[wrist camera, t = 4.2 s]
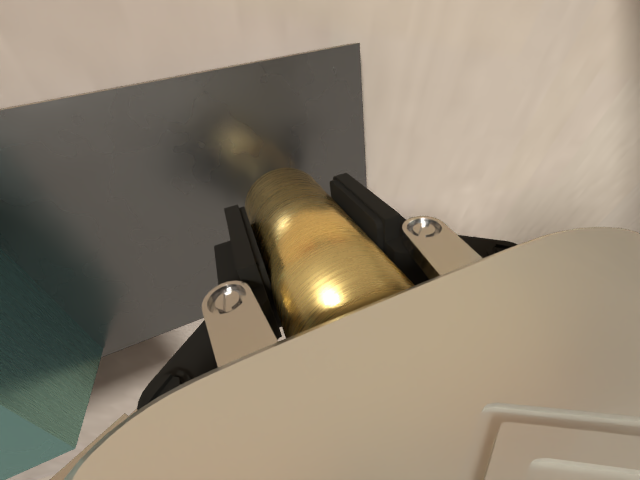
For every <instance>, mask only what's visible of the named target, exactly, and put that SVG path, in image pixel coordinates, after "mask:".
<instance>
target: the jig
mask: <svg viewBox="0 0 640 480" xmlns="http://www.w3.org/2000/svg"><path fill="white" fill-rule="evenodd" d="M279 168H294V169H298V170H301V171H303V172H305V173H307V174H308V175H310V176H311V177H312V178H313V179H314V180H315V181H316V182H317V183H318V184H319V185H320V186H321V187H322V188H323V189H324V191H325V192H326V193H327V194H328V195H329V196H330V197H331V191H330V181H332V180H333V177H334V176H337V175H340V174H344V173H348V174H349V175H350V176H352V177H353V178H354V179H355V180H357V181H358V182H359V183H361V184H362V185H363V186H364V187H366V188H367V186H366V165H365V145H364V124H363V104H362V83H361V63H360V43H354V44H346V45H341V46H336V47H330V48H325V49H319V50H314V51H309V52H303V53H298V54H293V55H287V56H282V57H277V58H271V59H266V60H260V61H255V62H250V63H244V64H239V65H234V66H228V67H223V68H218V69H212V70H207V71H201V72H196V73H191V74H185V75H180V76H175V77H169V78H164V79H159V80H153V81H148V82H142V83H137V84H132V85H126V86H121V87H116V88H110V89H105V90H100V91H94V92H89V93H83V94H78V95H73V96H67V97H62V98H57V99H51V100H46V101H41V102H35V103H30V104H24V105H19V106H14V107H8V108H3V109H0V480H6V479H8V478H10V477H12V476H15V475H17V474H19V473H21V472H24V471H26V470H28V469H30V468H33V467H35V466H37V465H39V464H41V463H44V462H46V461H48V460H50V459H53V458H55V457H57V456H59V455H62V454H64V453H66V452H68V451H71V450H73V449H75V448H76V444H77V441H78V437H79V434H80V430H81V427H82V423H83V420H84V416H85V412H86V409H87V405H88V402H89V398H90V395H91V391H92V388H93V384H94V380H95V377H96V373H97V370H98V366H99V363H100V359H101V357H103V356H106V355H108V354H111V353H114V352H116V351H119V350H121V349H124V348H127V347H129V346H132V345H134V344H137V343H140V342H142V341H145V340H147V339H150V338H152V337H155V336H158V335H160V334H163V333H165V332H168V331H171V330H173V329H176V328H178V327H181V326H184V325H186V324H189V323H191V322H194V321H196V320H199V319H202V318H204V316H203V312H202V302H203V300H204V298H205V296H206V295H207V294H208V293H209V292H210V291H211V290H212V289H213V288H215V287H216V286H218V278H217V269H216V261H215V252H214V246H215V245H218V244H221V243H224V242H227V241H230V236H229V231H228V226H227V221H226V216H225V211H224V208H227V207H230V206H234V205H237V204H238V206H239V208H240V207H243V206H244V207H245V201H246V197H247V194H248V192H249V190H250V188H251V187H252V185H253V184H254V183H255V182H256V180H258V179H259V178H260V177H261V176H263V175H264V174H266V173H268V172H270V171H272V170H275V169H279Z"/></svg>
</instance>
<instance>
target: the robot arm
mask: <svg viewBox="0 0 640 480" xmlns="http://www.w3.org/2000/svg"><path fill="white" fill-rule="evenodd" d="M330 191H331V198H332V199H333V200H334V201H335V202H336V203H337V204H338V205H339V206H340V207H341V208H342V209H343V210H344V212H345V213H346V214H347V215H348V216H349V217H350V218H351V219H352V220H353V221H354V222H355V223H356V224H357V225H358V226H359V227H360V228H361V229H362V230H363V231H364V232H365V234H366V235H367V236H368V237H369V238H370V239H371V240H372V241H373V242H374V243H375V244H376V245H377V246H378V247H379V248H380V249H381V250H382V251H383V252H384V253H385V254H386V256H387V257H388V258H389V259H390V260H391V261H392V262H393V263H394V264H395V265H396V266H397V267H398V268H399V269H400V270H401V271H402V272H403V273H404V274H405V275H406V277H407V278H408V279H409V280H410V281H411V282H412V283H413V284H414V285H415V286H413V287H410V288H408V289H405V290H403V291H400V292H398V293H395V294H393V295H390V296H388V297H386V298H383V299H381V300H378V301H376V302H373V303H371V304H368V305H366V306H364V307H361V308H359V309H356V310H354V311H351V312H349V313H346V314H344V315H342V316H339V317H337V318H334V319H332V320H329V321H327V322H325V323H322V324H320V325H317V326H315V327H313V328H310V329H308V330H305V331H303V332H300V333H298V334H296V335H293V336H291V337H288V338H286V339H284V340H281V341H279V342H278V341H277V340H278V339H279V337H282V335H281V332H280V329H279V327H282V324H281V321H280V318H279V315H278V312H277V309H276V306H275V303H274V300H273V296H272V286H271V283H270V280H269V278H268V275H267V272H266V269H265V266H264V263H263V260H262V257H261V254H260V251H259V248H258V245H257V242H256V239H255V236H254V233H253V230H252V228H251V225H250V222H249V219H248V216H247V213H246V210H245V207H244V206H243V207H240V208H239V206H238V204H237V205H234V206H230V207H227V208H224V211H225V216H226V221H227V226H228V231H229V236H230V241H227V242H224V243H221V244H218V245H215V246H214V252H215V261H216V269H217V278H218V286H216V287H215V288H213V289H212V290H211V291H210V292H209V293H208V294H207V295H206V296H205V298H204V300H203V302H202V312H203V316H204V319H205V320H204V321H203V322H202V324H201V325H200V326H199V327H198V328H197V329H196V330H195V332H194V333H193V334H192V335H191V336H190V337H189V338H188V340H187V341H186V342H185V343H184V344H183V345H182V346H181V348H180V349H179V350H178V351H177V352H176V353H175V354H174V356H173V357H172V358H171V359H170V360H169V361H168V362H167V364H166V365H165V366H164V367H163V368H162V369H161V370H160V372H159V373H158V374H157V375H156V376H155V377H154V378H153V380H152V381H151V382H150V383H149V384H148V386H147V387H146V388H145V390H144V391H143V393H142V395H141V397H140V399H139V402H138V407H137V409H136V410H135V411H134V412H133V413H132V414H130V415H129V416H128V415H127V414H123V415H122V416H121V417H120V418H119V419H118V420H117V421H115V422H114V423H113V424H112V425H111V426H110V427H109V428H108V429H106V430H105V431H104V432H103V433H102V434H101V435H100V436H99V437H97V438H96V439H95V440H94V441H93V442H92V443H91V444H89V445H88V446H87V447H86V448H85V449H84V450H83V451H82V452H80V453H79V454H78V455H77V456H76V457H75V458H74V459H73V460H71V461H70V462H69V463H68V464H67V465H66V466H65V467H63V468H62V469H61V470H60V471H59V472H58V473H57V474H56V475H54V476H53V477H52V478H51V479H50V480H640V233H638V232H634V231H631V230H627V229H622V228H612V227H592V228H578V229H572V230H566V231H561V232H556V233H552V234H549V235H545V236H542V237H539V238H536V239H533V240H530V241H527V242H525V243H522V244H519V245H518V244H515V243H512V242H508V241H501V240H493V239H485V238H477V237H469V236H461V235H457V234H456V233H455V232H453V231H452V230H451V229H450V228H449V227H448V226H447V225H446V224H445V223H443V222H442V221H441V220H439V219H436V218H434V217H429V216H417V217H412V218H409V219H408V220H406V219H405V218H403V217H402V216H401V215H400V214H399V213H398V212H396V211H395V210H394V209H393V208H391V207H390V206H389V205H387V204H386V203H385V202H384V201H382V200H381V199H380V198H378V197H377V196H376V195H375V194H373V193H372V192H371V191H370V190H368V189H367V188H366V187H364V186H363V185H362V184H361V183H359V182H358V181H357V180H355V179H354V178H353V177H352V176H350V175H349V174H348V173H344V174H340V175H337V176H334V177H333V180H332V181H330Z"/></svg>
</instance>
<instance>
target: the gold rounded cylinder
mask: <svg viewBox="0 0 640 480" xmlns="http://www.w3.org/2000/svg"><path fill="white" fill-rule="evenodd" d="M245 210H246V213H247V216H248V219H249V222H250V225H251V228H252V230H253V233H254V236H255V239H256V242H257V245H258V248H259V251H260V254H261V257H262V260H263V263H264V266H265V269H266V272H267V275H268V278H269V280H270V283H271V286H272V296H273V300H274V303H275V306H276V309H277V312H278V315H279V318H280V321H281V324H282V327H283V330H284V334H285V337H286V338H288V337H291V336H293V335H296V334H298V333H300V332H303V331H305V330H308V329H310V328H313V327H315V326H317V325H320V324H322V323H325V322H327V321H329V320H332V319H334V318H337V317H339V316H342V315H344V314H346V313H349V312H351V311H354V310H356V309H359V308H361V307H364V306H366V305H368V304H371V303H373V302H376V301H378V300H381V299H383V298H386V297H388V296H390V295H393V294H395V293H398V292H400V291H403V290H405V289H408V288H410V287H413V286H415V285H414V284H413V283H412V282H411V281H410V280H409V279H408V278H407V277H406V275H405V274H404V273H403V272H402V271H401V270H400V269H399V268H398V267H397V266H396V265H395V264H394V263H393V262H392V261H391V260H390V259H389V258H388V257H387V256H386V254H385V253H384V252H383V251H382V250H381V249H380V248H379V247H378V246H377V245H376V244H375V243H374V242H373V241H372V240H371V239H370V238H369V237H368V236H367V235H366V234H365V232H364V231H363V230H362V229H361V228H360V227H359V226H358V225H357V224H356V223H355V222H354V221H353V220H352V219H351V218H350V217H349V216H348V215H347V214H346V213H345V212H344V210H343V209H342V208H341V207H340V206H339V205H338V204H337V203H336V202H335V201H334V200H333V199H332V198H331V197H330V196H329V195H328V194H327V193H326V192H325V191H324V189H323V188H322V187H321V186H320V185H319V184H318V183H317V182H316V181H315V180H314V179H313V178H312V177H311V176H310V175H308V174H307V173H305V172H303V171H301V170H298V169H294V168H279V169H275V170H272V171H270V172H268V173H266V174H264V175H263V176H261V177H260V178H259V179H258V180H256V182H255V183H254V184H253V185H252V187H251V188H250V190H249V192H248V194H247V197H246V201H245Z"/></svg>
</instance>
